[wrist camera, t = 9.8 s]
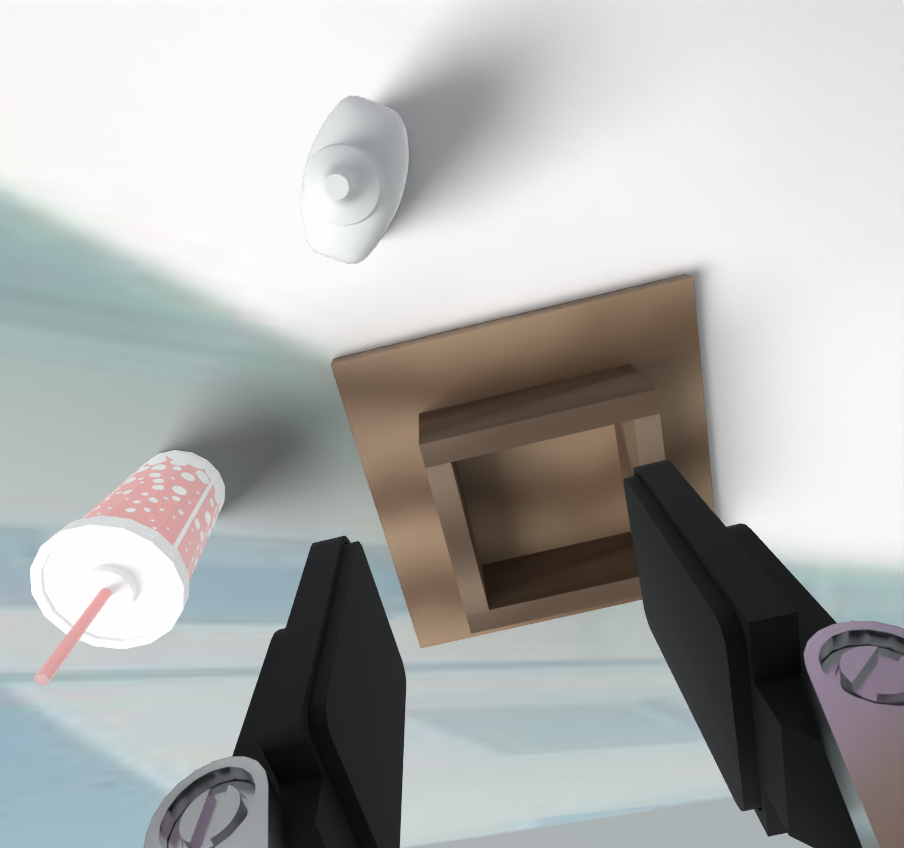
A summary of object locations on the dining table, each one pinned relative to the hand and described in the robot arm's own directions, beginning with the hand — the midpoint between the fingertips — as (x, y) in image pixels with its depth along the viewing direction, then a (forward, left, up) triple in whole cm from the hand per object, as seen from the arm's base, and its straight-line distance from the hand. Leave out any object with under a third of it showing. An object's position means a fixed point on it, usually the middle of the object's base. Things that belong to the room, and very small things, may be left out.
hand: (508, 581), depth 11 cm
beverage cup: (+6, -16, -23) cm, 29 cm away
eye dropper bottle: (-7, -2, -23) cm, 24 cm away
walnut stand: (+10, +3, -23) cm, 25 cm away
